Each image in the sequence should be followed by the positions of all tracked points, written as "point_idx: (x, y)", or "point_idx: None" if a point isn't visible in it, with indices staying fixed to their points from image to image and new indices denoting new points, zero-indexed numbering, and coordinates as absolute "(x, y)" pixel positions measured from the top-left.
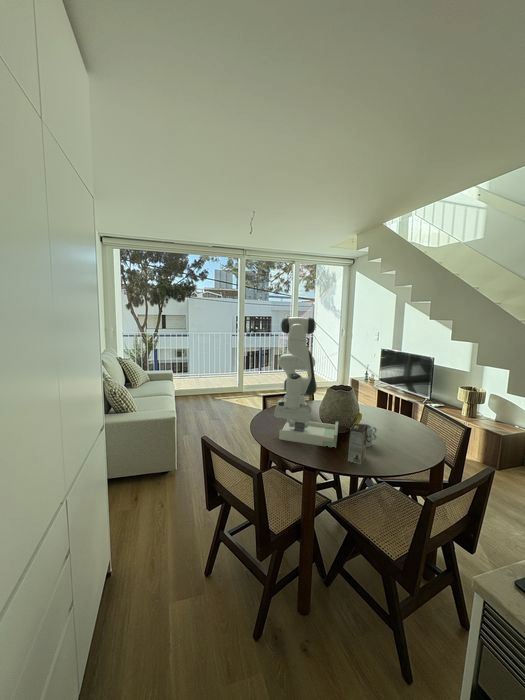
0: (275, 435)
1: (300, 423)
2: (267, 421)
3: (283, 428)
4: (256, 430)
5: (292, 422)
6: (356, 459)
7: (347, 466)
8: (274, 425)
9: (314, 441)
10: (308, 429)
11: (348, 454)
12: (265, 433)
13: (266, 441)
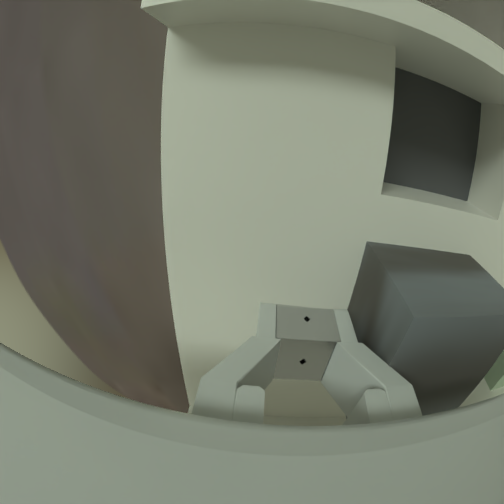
0: (147, 326)
1: (443, 389)
2: (13, 37)
3: (182, 315)
4: (12, 262)
5: (287, 21)
6: None
7: None
8: (62, 81)
9: None
10: (498, 261)
11: None
12: (70, 301)
13: (141, 398)
